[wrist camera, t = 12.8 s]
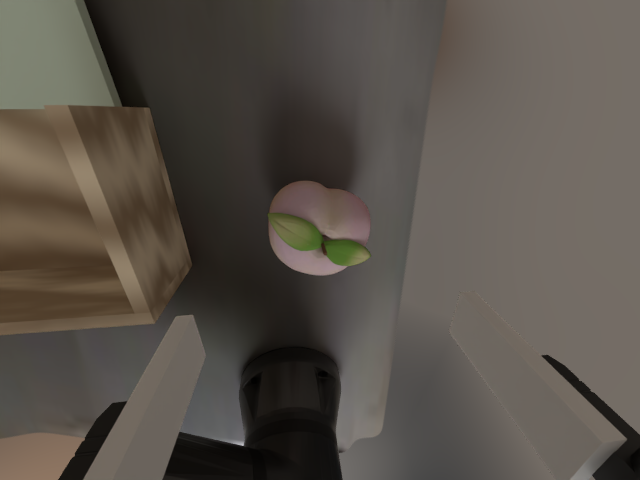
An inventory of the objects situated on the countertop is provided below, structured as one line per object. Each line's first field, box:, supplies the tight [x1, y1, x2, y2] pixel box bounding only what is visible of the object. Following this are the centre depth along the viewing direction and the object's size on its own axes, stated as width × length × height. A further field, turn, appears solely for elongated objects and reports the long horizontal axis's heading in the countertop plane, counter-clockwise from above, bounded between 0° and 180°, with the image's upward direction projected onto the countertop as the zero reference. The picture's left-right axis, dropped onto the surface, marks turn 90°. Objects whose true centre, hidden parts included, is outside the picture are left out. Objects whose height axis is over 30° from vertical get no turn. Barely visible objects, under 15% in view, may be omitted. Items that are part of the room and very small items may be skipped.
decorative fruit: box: [267, 181, 371, 275], centre depth 23 cm, size 9×8×10 cm
